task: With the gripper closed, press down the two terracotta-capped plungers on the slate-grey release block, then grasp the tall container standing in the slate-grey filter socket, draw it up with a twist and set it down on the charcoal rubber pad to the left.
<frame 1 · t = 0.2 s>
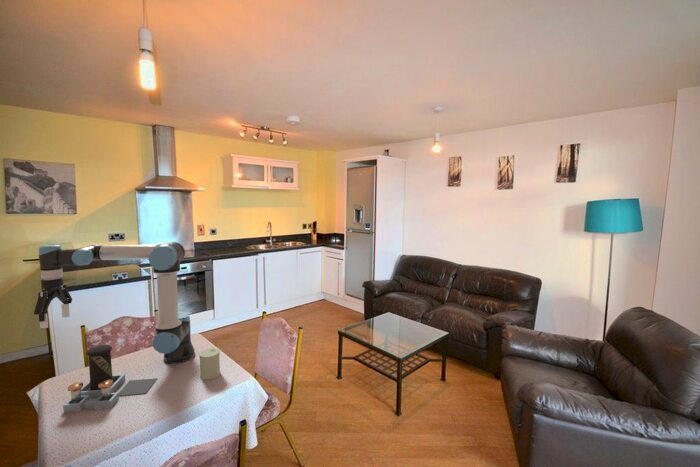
hand: (55, 322, 148), 28 cm above the table, fingers open, 13 cm apart
plunger b: (76, 392, 129), point 6 cm above the table, slide at 0.0 cm
plunger a: (106, 390, 131), point 6 cm above the table, slide at 0.0 cm
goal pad: (137, 387, 144), on the table
can: (210, 374, 156), on the table
container: (102, 389, 142), resting in filter socket
filter socket: (102, 389, 142), on the table
plunger base: (92, 405, 131), on the table
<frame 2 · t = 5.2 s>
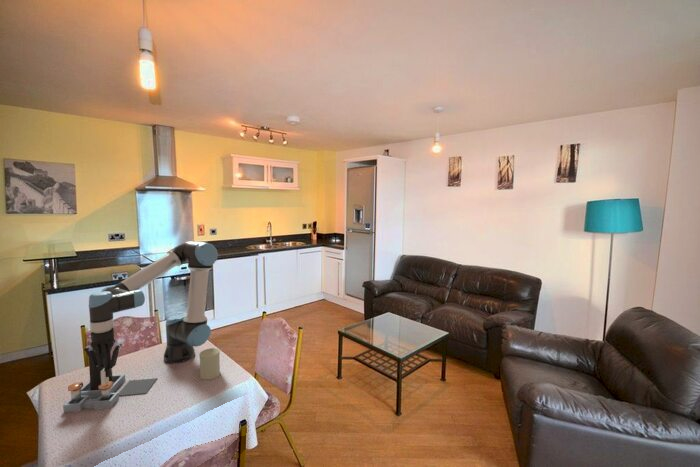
hand: (105, 384, 131), 9 cm above the table, fingers closed
plunger a: (106, 391, 131), point 5 cm above the table, slide at 0.7 cm, touching gripper
everything else where it was.
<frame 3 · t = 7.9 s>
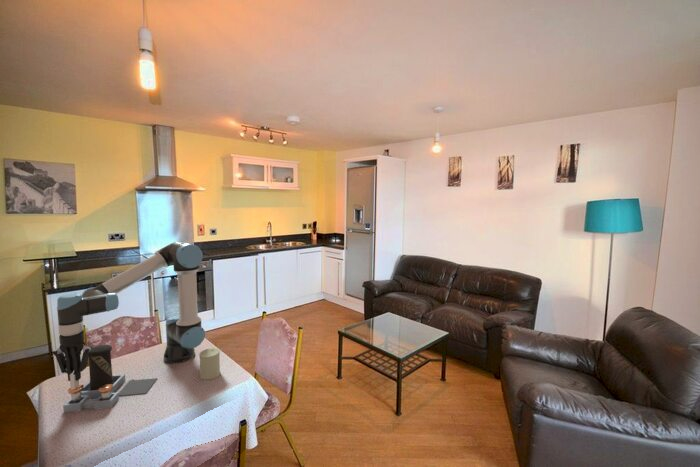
hand: (75, 387, 129), 9 cm above the table, fingers closed
plunger b: (76, 395, 129), point 5 cm above the table, slide at 1.1 cm, touching gripper
plunger a: (106, 394, 132), point 4 cm above the table, slide at 2.0 cm
everything else where it was.
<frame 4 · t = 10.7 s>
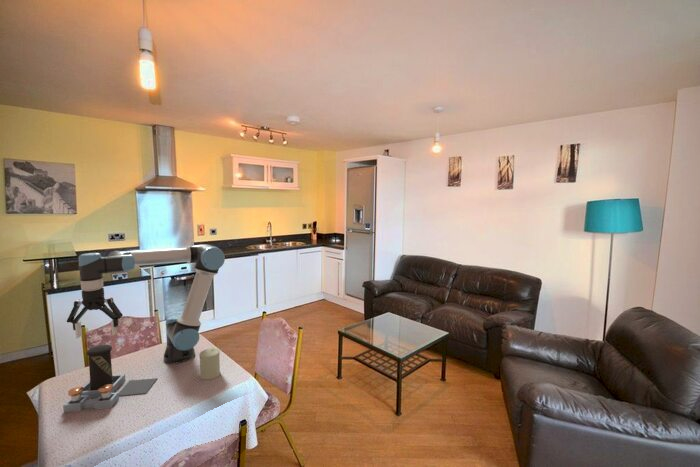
hand: (97, 335, 138), 26 cm above the table, fingers open, 13 cm apart
plunger b: (76, 397, 129), point 4 cm above the table, slide at 2.0 cm
everything else where it was.
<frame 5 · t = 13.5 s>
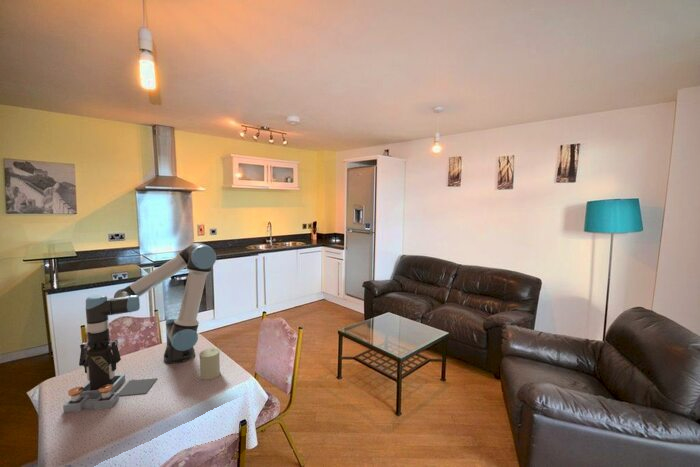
hand: (101, 378, 142), 5 cm above the table, fingers closed on container, 8 cm apart
container: (101, 389, 142), resting in filter socket, touching gripper
everything else where it was.
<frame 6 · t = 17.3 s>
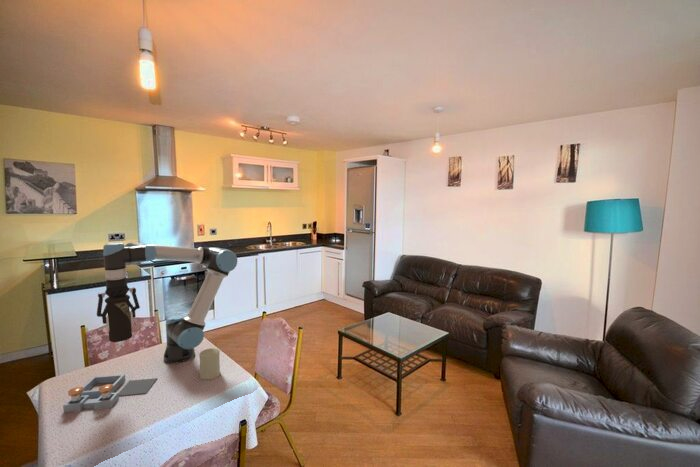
hand: (120, 327, 141), 29 cm above the table, fingers closed on container, 8 cm apart
container: (120, 339, 141), point 23 cm above the table, touching gripper
everything else where it was.
when the fingers open (7 cm above the table, at t = 21.6 s): container drops 1 cm, resting on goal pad.
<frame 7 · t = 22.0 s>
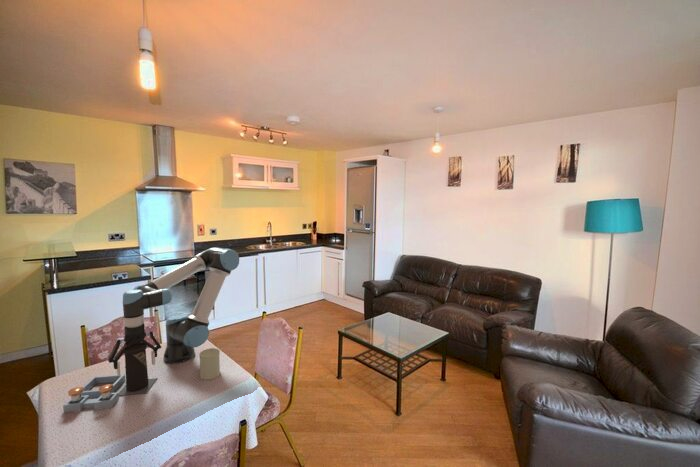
hand: (136, 369, 143), 9 cm above the table, fingers open, 13 cm apart
container: (137, 386, 144), resting on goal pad
everything else where it was.
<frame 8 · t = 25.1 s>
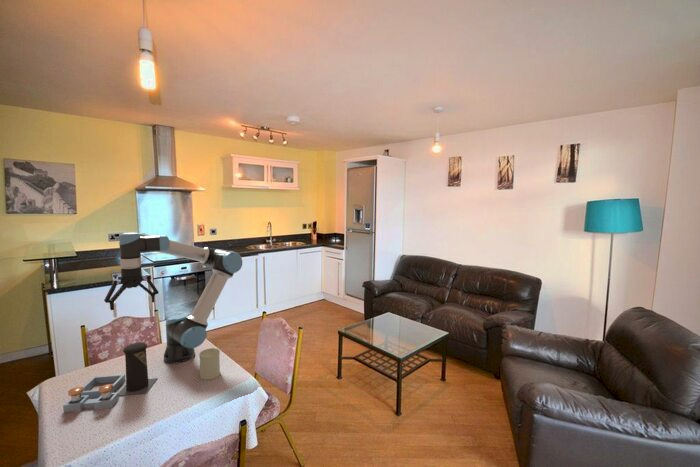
hand: (133, 313, 143), 35 cm above the table, fingers open, 13 cm apart
nothing on the table moved.
at the end: plunger a slide at 2.0 cm; plunger b slide at 2.0 cm; container inside the target area on the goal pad (0.1 cm from its centre), point 0.2 cm above the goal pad's base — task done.
